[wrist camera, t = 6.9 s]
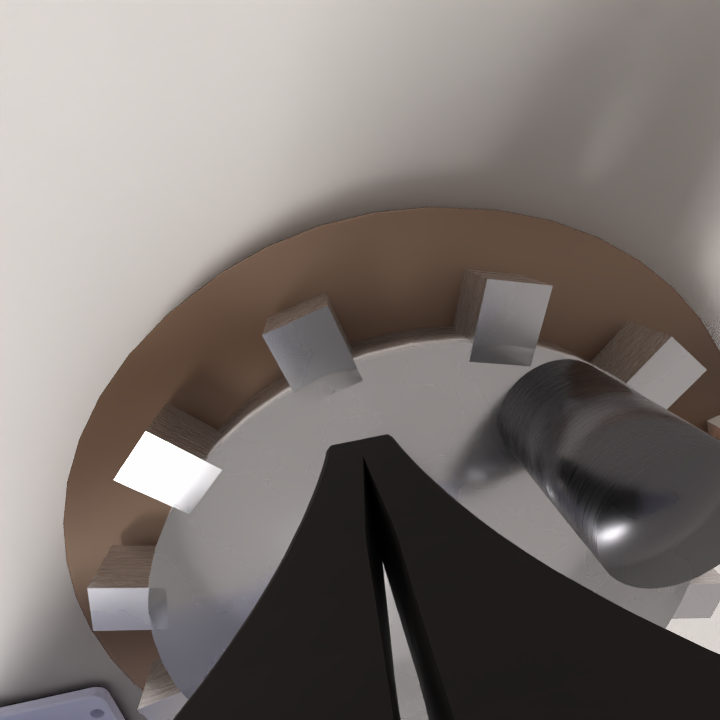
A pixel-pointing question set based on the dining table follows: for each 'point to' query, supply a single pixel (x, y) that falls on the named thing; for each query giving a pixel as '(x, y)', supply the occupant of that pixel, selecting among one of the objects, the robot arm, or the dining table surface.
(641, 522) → the sprocket
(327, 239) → the sprocket base
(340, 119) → the dining table surface
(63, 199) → the dining table surface
